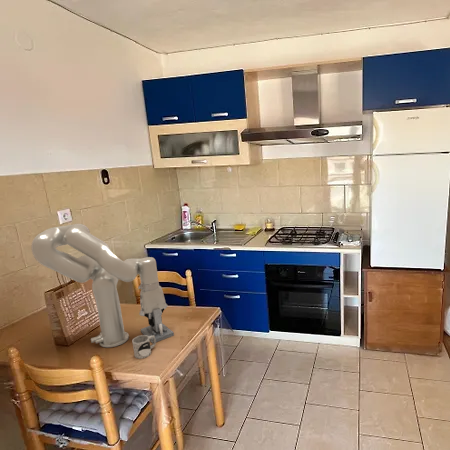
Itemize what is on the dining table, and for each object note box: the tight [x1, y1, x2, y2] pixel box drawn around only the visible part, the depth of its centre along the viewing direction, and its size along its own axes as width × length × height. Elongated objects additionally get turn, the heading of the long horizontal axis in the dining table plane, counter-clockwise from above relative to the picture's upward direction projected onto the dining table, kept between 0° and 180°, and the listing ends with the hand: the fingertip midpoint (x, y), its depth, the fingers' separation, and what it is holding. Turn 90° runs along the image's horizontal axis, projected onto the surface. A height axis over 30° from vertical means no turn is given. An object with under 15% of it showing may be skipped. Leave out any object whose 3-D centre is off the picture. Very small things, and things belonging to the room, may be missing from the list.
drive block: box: [149, 308, 163, 332], centre depth 162 cm, size 8×3×10 cm, turn 34°
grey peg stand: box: [140, 322, 175, 344], centre depth 163 cm, size 14×10×6 cm
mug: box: [131, 334, 157, 359], centre depth 148 cm, size 10×7×7 cm, turn 137°
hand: (155, 324), depth 163 cm, fingers closed on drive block, 3 cm apart
